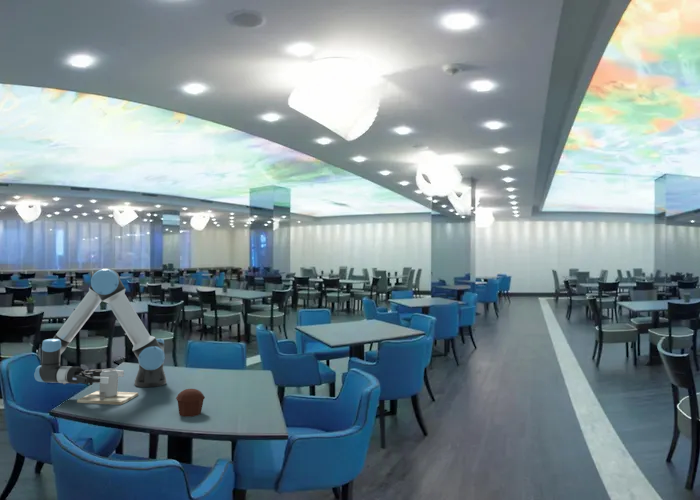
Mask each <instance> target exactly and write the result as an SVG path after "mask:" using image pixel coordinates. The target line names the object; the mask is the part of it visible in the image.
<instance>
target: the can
mask: <svg viewBox="0 0 700 500" xmlns="http://www.w3.org/2000/svg"><path fill="white" fill-rule="evenodd" d="M117 370H118V369H117V368H111V369H109V368H104V370H102V372H101V373H100V376H99V377H109V379H108V384H102V383H99V390H98V391H99V395H100V393H101V392H105V395H104V398H111V397H114V396H116V395H117V392H119V391H118V390H119V389H118V388H119V387H118V385H119V384H118V383H119V377H118V372H117Z"/></svg>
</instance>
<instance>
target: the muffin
mask: <svg viewBox="0 0 700 500" xmlns="http://www.w3.org/2000/svg"><path fill="white" fill-rule="evenodd" d="M175 400H176V401H177V407H178V408H177V409H178V414H179V416H180V417H185V418H186V417H188V418H190V417H191V418H192V417H196V416H199V415H201V414H202V411H203V404H204V400H205V396H204V393H203V392H202V391H200V390H198V389H197V388H186V389H185V388H184V389H183V390H182V391H180V392H179V393H178V394H177V395H176V398H175Z"/></svg>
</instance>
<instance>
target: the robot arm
mask: <svg viewBox="0 0 700 500" xmlns="http://www.w3.org/2000/svg"><path fill="white" fill-rule="evenodd" d="M90 279H91V280H90V286H89V287H88V292H87V293H86V294H85V296H84V297H83V298H82V299H81V301H80V302H79V304H78V305H77V306H76V307H75V309H74V310H73V311H72V312H71V314H70V315H69V317H68V318H67V319H66V321H65V322H64V323H63V325H62V326H61V327H60V328H59V330H58V331H57V333H55V335H54V336H53V338H48V339H44V340H42V342H41V343H42V344H41V365H38V366H37V367H36V368H35V370H34V371H35V372H34V374H33V375H34V376H33V377H34V379H35V381H37V382H40V383H46V384H47V383H53V384H54V383H55V384H56V383H58V384H62V385H66V384H70V385H71V384H72V385H73V384H74V385H76V384H83V385H89V386H92V385H93V384H100V383H102V384H108V379H109V377H100V373H101V372H102V370H104V369H105V368H104V369H89V370H87V369H86V370H83V368H82V367H81V366H70V365H68V366H67V365H65V366H64V365H61V355H62V354H63V353H64V352H65V351H66V349H67V348H68V346H69V345H70V343H71V342H72V341H73V339H74V338H75V337H76V335H77V334H78V333H79V331H80V330H81V329H82V328H83V326H84V325H85V324H86V322H87V321H88V320H89V319H90V317H91V316H92V315H93V314H94V312H95V310H96V309H97V308H98V307H99V305H100V304H101V302H104V303H107V305H108V307H109V309H110V310H111V312H112V313H113V315H114V316H115V318H116V319H117V321H118V323H119V324H120V326H121V328H122V329H123V331H124V332H125V335H127V337H128V339H129V340H130V342H131V343H132V344H131V345H133V347H132V352H133V353H134V355H135V357H136V358H137V360H138V361H137V362H138V371H137V374H136V375H135V379H134V386H135V387H140V388H155V387H161V386H164V385H165V384H167V376H166V374H165V371H164V370H165V369H164V362H165V359H166V354H165V339H164V338H156V337H155V336H153V335H150V333H149V331H148V329H147V328H146V326H145V325H144V323H143V321H142V320H141V319H140V317H139V315H138V313H137V312H136V310H135V309H134V307H133V305H132V303H131V302H130V300H129V299H128V297H127V295H126V294H125V293H126V287H125V286H124V284H123V282H122V280H121V277H120V275H119V273H118V272H117V271H116V270H115V269H112V268H108V267H107V268H101V269H98V270H97V271H95V272H94V274H93V275H92V276H91V278H90ZM108 369H112V368H111V367H110V368H108ZM117 372H118V378H119V377H121V378H122V377H124V376H125V375H124V374H125V370H119V369H117Z"/></svg>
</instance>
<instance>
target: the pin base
mask: <svg viewBox="0 0 700 500" xmlns="http://www.w3.org/2000/svg"><path fill="white" fill-rule="evenodd" d="M99 391H100V390H96V391H94V392H92V393H89V394H86V395H85V396H83V397H81V398H78V399H77V400H76V403H77V404H95V405H96V404H99V405H117V406H119V405H120V406H122V405H123V404H125V403H127V402H129V401H130V400H132V399H134V398H136V397H138V396H139V392H131V391H130V392H128V391H117V395H116V396H114V397H111V398H104V395H105V392H101V393H100V395H99Z"/></svg>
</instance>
